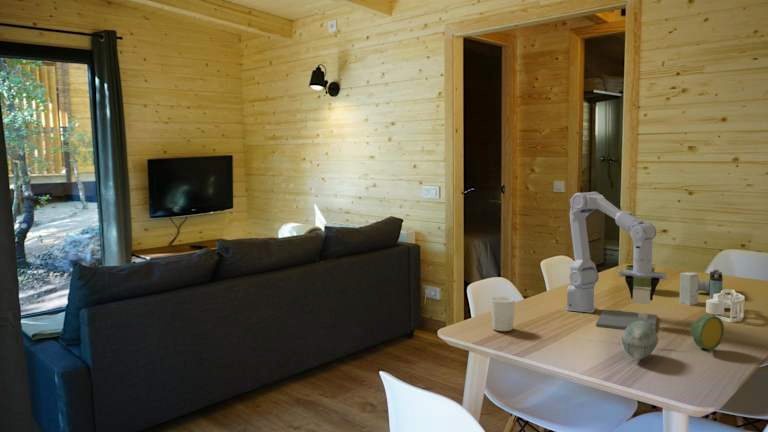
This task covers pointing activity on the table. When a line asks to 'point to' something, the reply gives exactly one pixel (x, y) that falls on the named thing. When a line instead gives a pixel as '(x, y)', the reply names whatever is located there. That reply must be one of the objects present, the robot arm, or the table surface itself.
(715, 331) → the decorative artifact
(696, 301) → the skincare box
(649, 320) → the plate
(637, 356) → the grey rounded piece
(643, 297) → the white drawer cabinet
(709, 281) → the camera
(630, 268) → the plant pot
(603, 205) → the robot arm
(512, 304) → the white cup
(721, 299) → the skeletal toy car
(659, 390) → the table surface
